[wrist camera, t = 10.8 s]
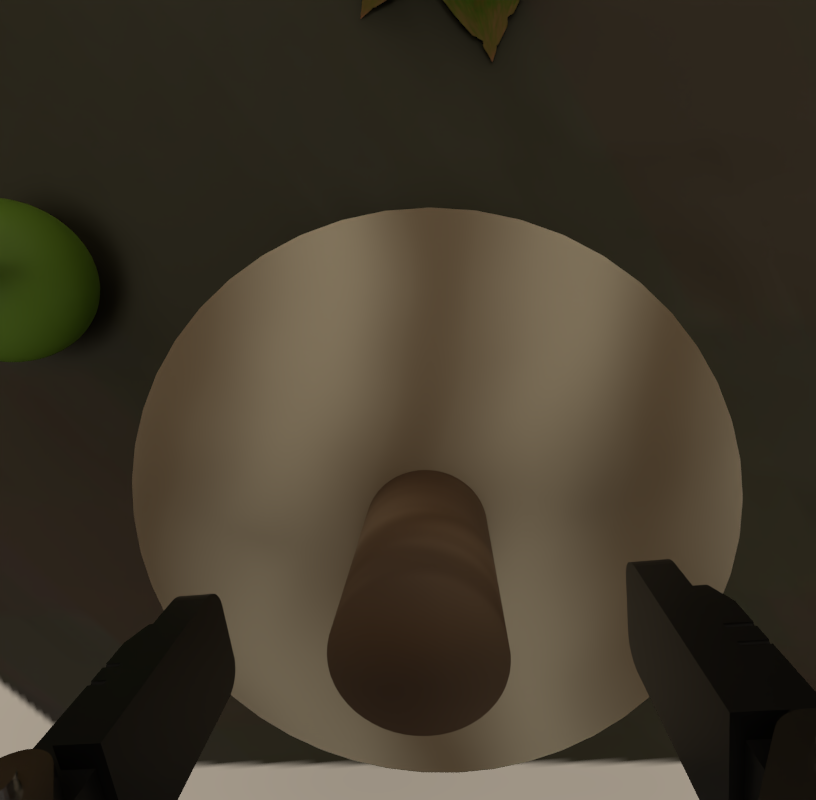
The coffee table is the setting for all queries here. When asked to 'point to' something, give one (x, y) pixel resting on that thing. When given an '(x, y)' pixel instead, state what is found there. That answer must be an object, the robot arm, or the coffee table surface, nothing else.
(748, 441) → the coffee table surface
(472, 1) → the lily flower
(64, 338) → the snail figurine
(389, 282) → the lid
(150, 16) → the coffee table surface
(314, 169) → the coffee table surface
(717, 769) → the robot arm
